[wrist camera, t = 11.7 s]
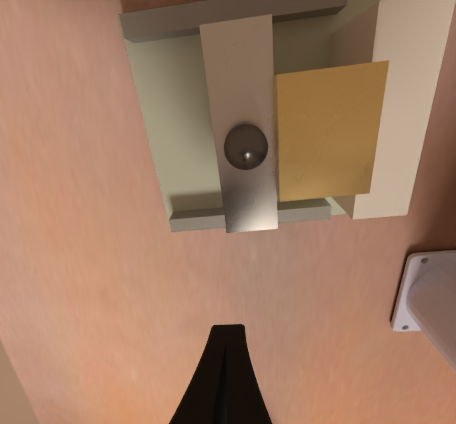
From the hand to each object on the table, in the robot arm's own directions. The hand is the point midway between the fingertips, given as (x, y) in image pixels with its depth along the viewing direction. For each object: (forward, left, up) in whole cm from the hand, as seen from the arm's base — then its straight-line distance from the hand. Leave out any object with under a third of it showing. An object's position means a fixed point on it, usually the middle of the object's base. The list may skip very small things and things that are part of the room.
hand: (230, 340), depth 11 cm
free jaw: (-1, -8, -7) cm, 11 cm away
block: (-4, -8, -7) cm, 12 cm away
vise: (-3, -8, -8) cm, 12 cm away
